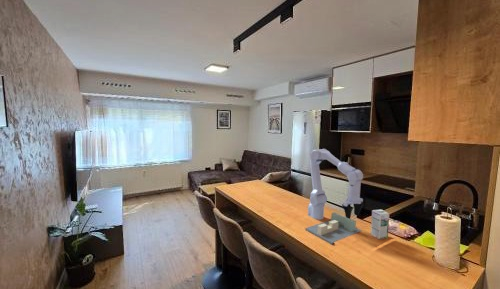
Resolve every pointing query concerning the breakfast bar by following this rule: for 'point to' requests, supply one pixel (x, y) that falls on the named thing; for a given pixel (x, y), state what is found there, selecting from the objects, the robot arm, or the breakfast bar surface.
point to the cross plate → (344, 221)
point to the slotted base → (332, 234)
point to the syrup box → (380, 224)
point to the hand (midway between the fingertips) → (352, 216)
